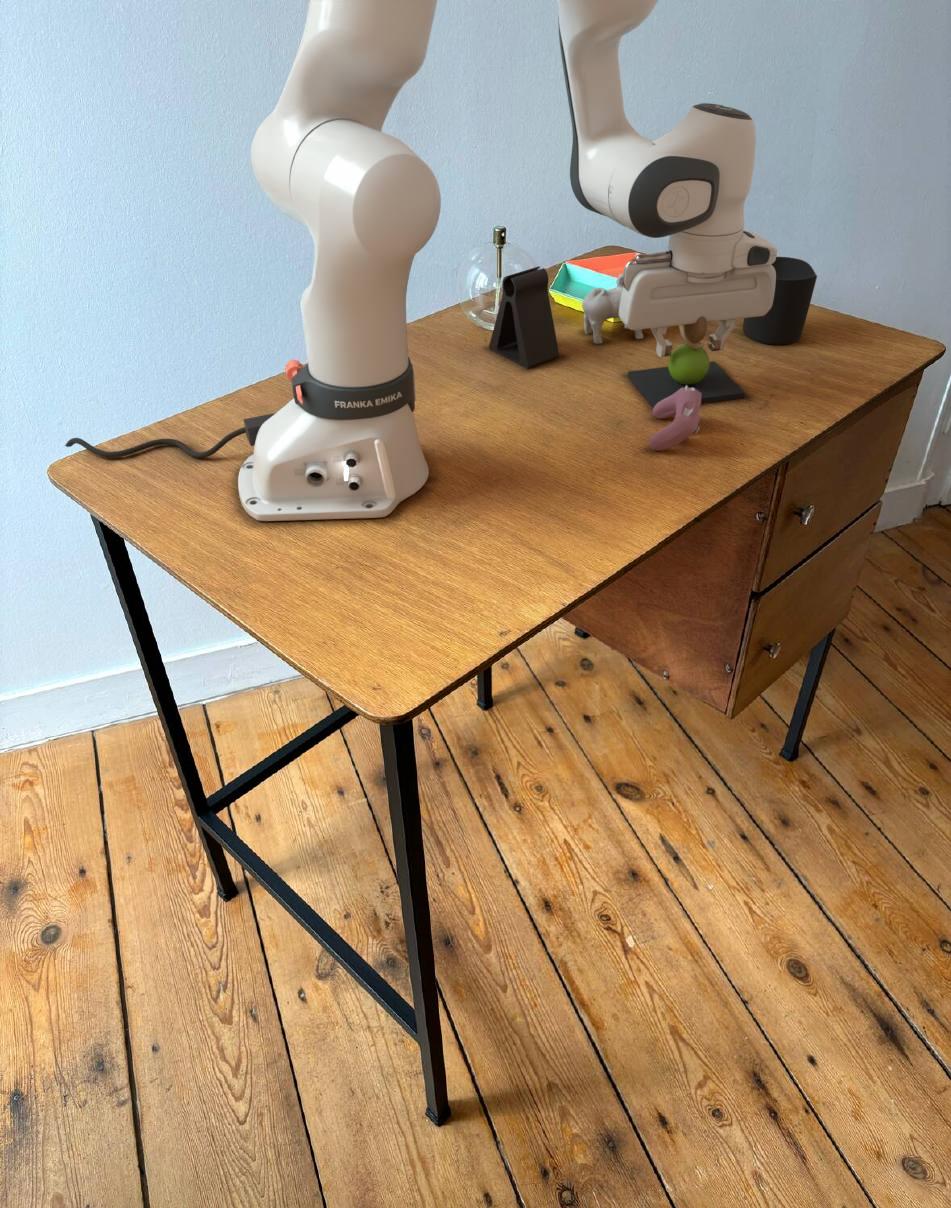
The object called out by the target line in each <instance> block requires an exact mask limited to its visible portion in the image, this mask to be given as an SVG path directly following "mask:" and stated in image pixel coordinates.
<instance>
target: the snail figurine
mask: <svg viewBox="0 0 951 1208" xmlns="http://www.w3.org/2000/svg"><path fill="white" fill-rule="evenodd" d="M707 325H708V324H707V322H706V319H705V317H703V316H701V317H699V318H698V320H697V322H696V323H695V324H686V325H678V327H679V334H680V336H681V338H682V340H683V341H684V343H683V344H680V345H679V346H677V347H676V348H675V349H674V350H673V351H671V352H672V354H671V356H669V358H668V362H667V363H668V364H667V365H668V366H667V367H668V368H669V372H670V374H671V376H672V377H673V379H674V380H676V381H677V382H679V383H681V384H685V385H691V384H695V383H697V382H699V381H701V380H702V379H703V378H704V377H705V375H706V374H707V372H708V369H709V364H710V362H711V361H710V357H709V354H708V352H707V351H706V349H705V348H704V346H705V345H704V343H703V342H701V341H703V339H704V338H705V336H706V334H707Z"/></svg>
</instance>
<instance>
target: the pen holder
mask: <svg viewBox="0 0 951 1208" xmlns="http://www.w3.org/2000/svg"><path fill="white" fill-rule="evenodd" d="M771 265H772V266H773V267H774V269H775V272H776V284H775V293H774V299H773V304H772V307H771V309H770V310H769V311H768V312H767V313H766V314H765V315H764V316H758V317H749V318H743V325H742V331H743V334H744V335H745V336H746V337H747V338H748V339H750V340H752V341H754V342H757V343H760V344H763V345H765V344H766V345H770V346H771V345H772V346H784V345H790V344H793V343H795V342H797V341H798V340H799V339H800V338H801V337H802V335H803V331H804V328H805V323H806V322H807V321H806V320H807V317H808V313H809V309H810V305H811V302H812V297H813V293H814V290H815V286H816V282H817V278H818V275H817V274H816V272H815V270H814V268H813V267H812V265H810V263H809V262H807V261H805V260H803V259H800V258H795V257H788V256H777V257H776V260H775V262H774V263H773V264H771Z"/></svg>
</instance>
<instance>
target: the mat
mask: <svg viewBox="0 0 951 1208" xmlns="http://www.w3.org/2000/svg"><path fill="white" fill-rule="evenodd" d="M709 362H710V364H709V369H708V372H707V374H706V375H705V377H704V378H703V379H702V380H701V381H699V382H697V383H695V384H691V385H687V386H688V388H692V387H693V388H695V389H697V390H699V392H701V393H702V396H701V404H707V403H714V402H715V403H716V402H722V401H730V400H736V399H737V400H738V399H745V397H746V391H744V390H743V389H742V387H740V385H739V384H738V383H737V382H735V380H734V379H733V378H732V377H731V376H730V375H729V374H728V373H727V372H726V371H725V370H724V369H722V367H721V366H720V365H719V364H718V363H717V362H716V360H715V361H709ZM627 378H628V379H629V380H630V382H631V383H632V384H633V386H634V387H635V388H636V389H637V390H638V391H639V393H640V394H641V396H643V398H644V399H645V400H646V401H647V403H648V404H649V406H650V407H651V408H652V409H653V408H654V406H655V405H656V404H657V403H658V402H660V401H661V400H663V399H665V398H667V397H669V396H671V395H672V394H674V393H675V392H677V391H678V390H679V389H680V388H685V387H686V385H685V384H681V383H679V382H677V381H676V380H674V379H673V377H672V376H671V374H670V372H669V368H668V366H663V367H655V368H654V367H653V368H647V369H638V370H630V371H628V372H627Z"/></svg>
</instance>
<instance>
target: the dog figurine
mask: <svg viewBox="0 0 951 1208" xmlns="http://www.w3.org/2000/svg"><path fill="white" fill-rule="evenodd" d="M623 273H624V272H621V273H620V274H619V275H618V276H617V278H616V282H615V283H616V287H613V288H611V289H605V288H604V287H596V288H593V289H591V290H590V291H589V292H588V294H587V295H585V296H584V298H583V300H582V302H581V303H582V304H581V306H582V307H581V308H582V310H583V313H584V315H583V321H584V323H583V326H584V327H583V330H584V332H585V334H592V333H593V343H594V344H595V345H596V344H597V345H599V344H600V345H601V344H603V343H604V341H603V339H602V330H603V329H602V328H603V325H604V323H605V322H606V321H607V320H610V319H620V317H619V306H620V300H621V295H622V291H623V287H624V285H623ZM624 329H626V330H630V329H629V328H628V327H627V326H626V325H625V324H624ZM642 331H643V329H641V330H634V338H635V339H637V340H640V339H644V334H643V332H642Z"/></svg>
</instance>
